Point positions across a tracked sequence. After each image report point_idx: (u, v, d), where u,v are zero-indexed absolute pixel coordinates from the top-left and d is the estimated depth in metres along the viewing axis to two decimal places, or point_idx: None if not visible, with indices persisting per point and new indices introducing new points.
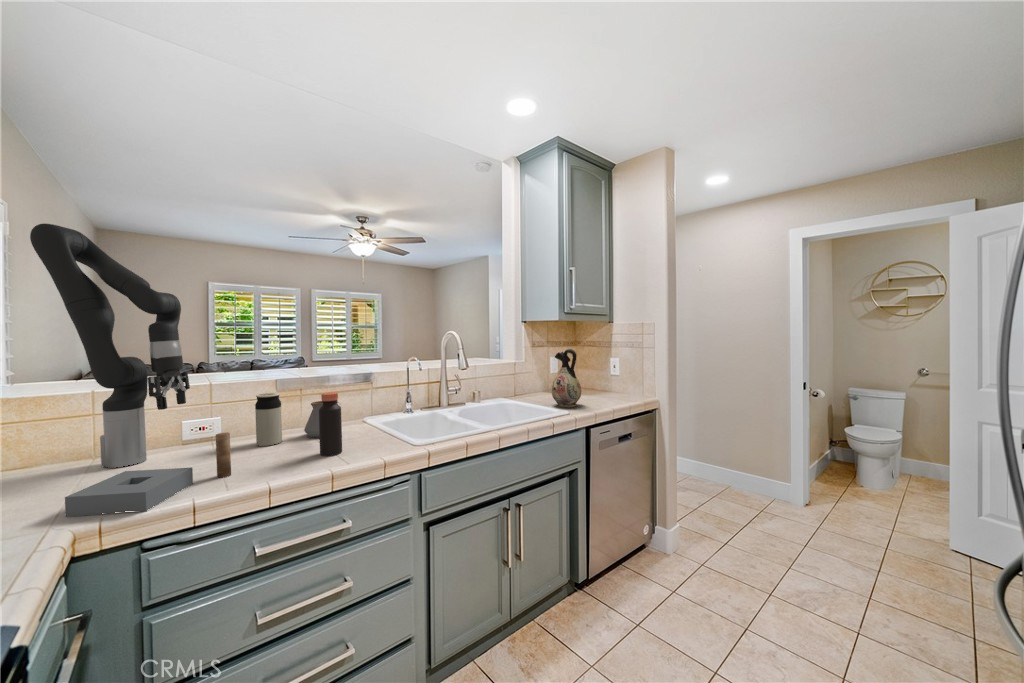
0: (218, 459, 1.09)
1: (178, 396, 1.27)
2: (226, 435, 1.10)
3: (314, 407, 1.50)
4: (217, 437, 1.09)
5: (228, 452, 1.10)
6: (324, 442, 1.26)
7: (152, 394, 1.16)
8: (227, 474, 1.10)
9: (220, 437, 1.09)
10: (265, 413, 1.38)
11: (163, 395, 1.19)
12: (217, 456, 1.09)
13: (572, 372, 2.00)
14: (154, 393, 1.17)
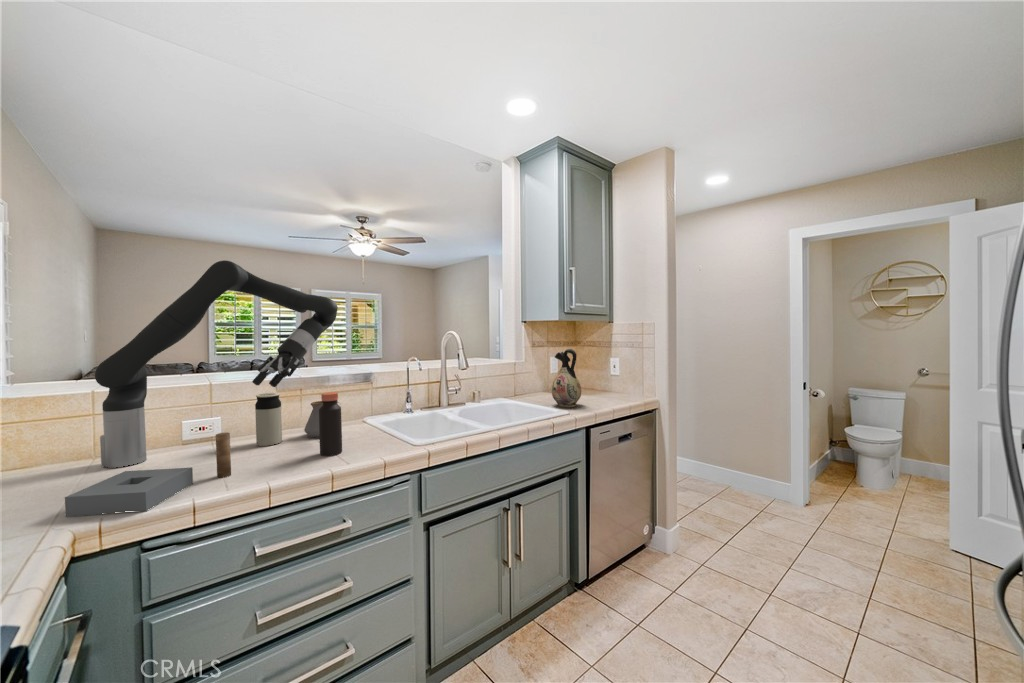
0: (218, 459, 1.09)
1: (260, 376, 1.23)
2: (226, 435, 1.10)
3: (314, 407, 1.50)
4: (217, 437, 1.09)
5: (228, 452, 1.10)
6: (324, 442, 1.26)
7: (287, 371, 1.20)
8: (227, 474, 1.10)
9: (220, 437, 1.09)
10: (265, 413, 1.38)
11: (285, 376, 1.21)
12: (217, 456, 1.09)
13: (572, 372, 2.00)
14: (289, 372, 1.20)
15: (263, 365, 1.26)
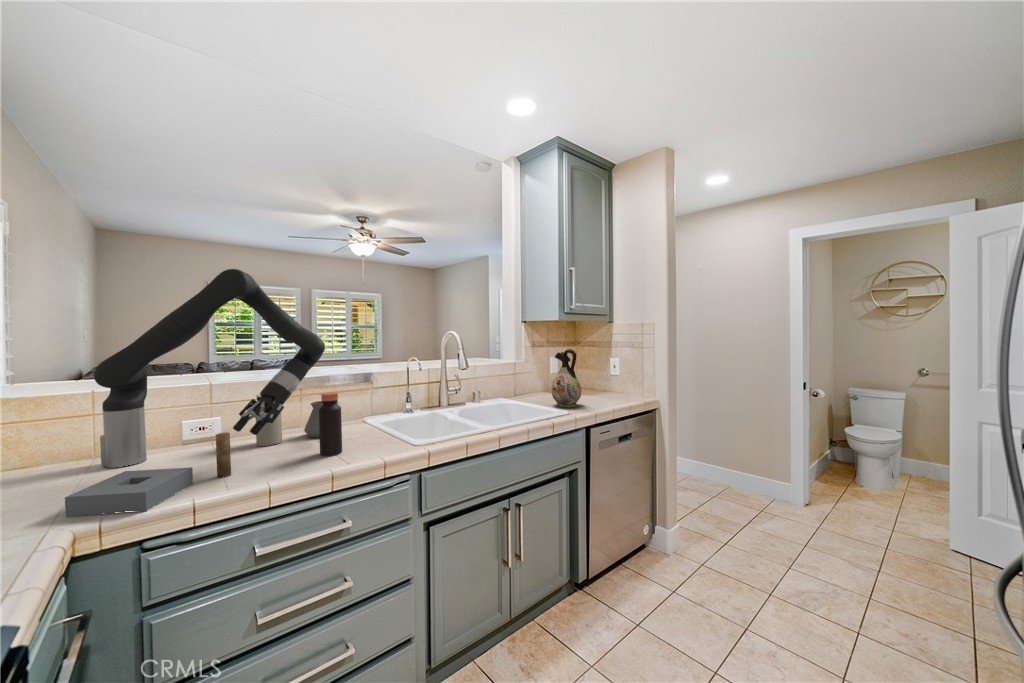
0: (218, 459, 1.09)
1: (241, 422, 1.18)
2: (226, 435, 1.10)
3: (314, 407, 1.50)
4: (217, 437, 1.09)
5: (228, 452, 1.10)
6: (324, 442, 1.26)
7: (269, 418, 1.15)
8: (227, 474, 1.10)
9: (220, 437, 1.09)
10: None
11: None
12: (217, 456, 1.09)
13: (572, 372, 2.00)
14: (271, 418, 1.16)
15: (245, 409, 1.21)
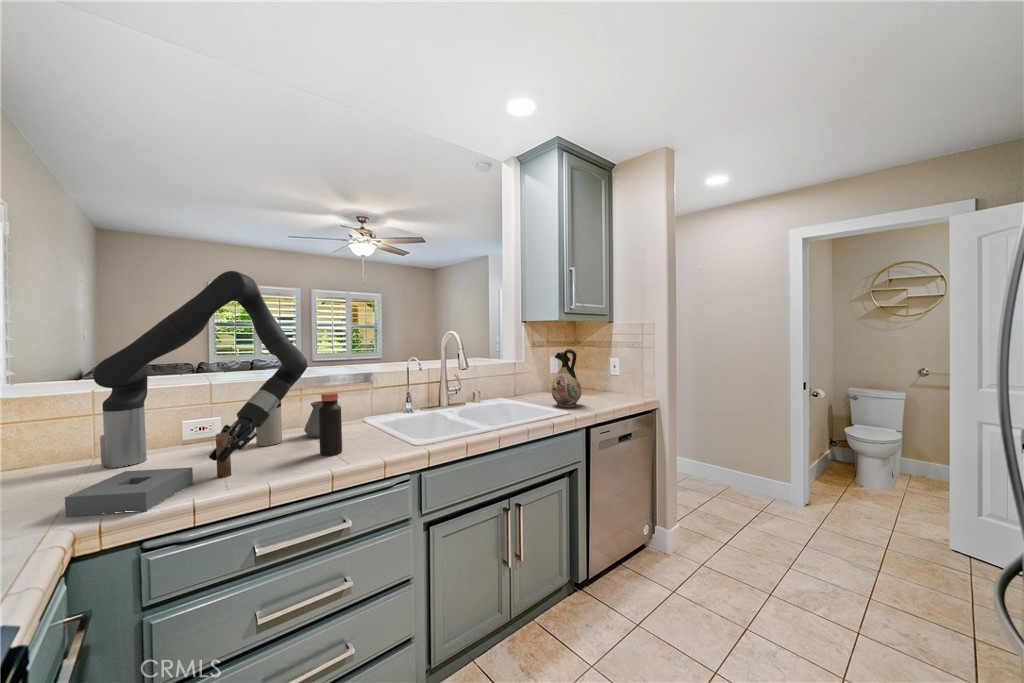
0: None
1: None
2: (226, 435, 1.10)
3: (314, 407, 1.50)
4: (217, 437, 1.09)
5: None
6: (324, 442, 1.26)
7: (236, 446, 1.09)
8: (227, 474, 1.10)
9: (220, 437, 1.09)
10: None
11: (235, 449, 1.11)
12: None
13: (572, 372, 2.00)
14: (238, 446, 1.10)
15: None
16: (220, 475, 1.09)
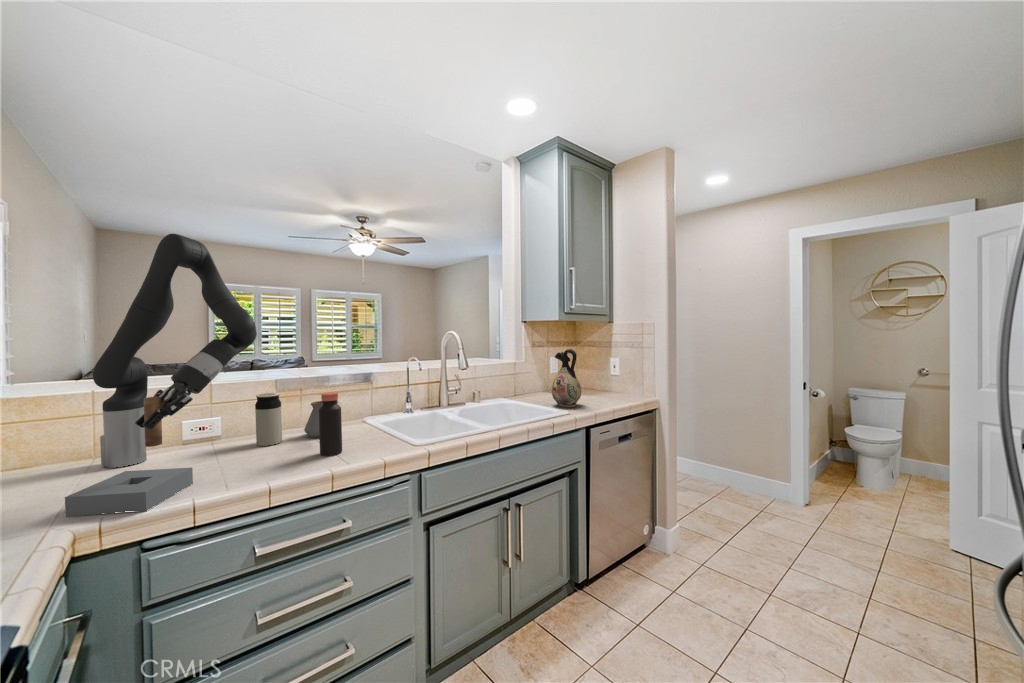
0: None
1: None
2: (156, 399, 0.98)
3: (314, 407, 1.50)
4: (145, 401, 0.97)
5: None
6: (324, 442, 1.26)
7: (167, 411, 0.97)
8: (157, 443, 0.98)
9: (148, 400, 0.97)
10: (265, 413, 1.38)
11: (166, 415, 0.99)
12: None
13: (572, 372, 2.00)
14: (170, 411, 0.98)
15: None
16: (148, 443, 0.97)
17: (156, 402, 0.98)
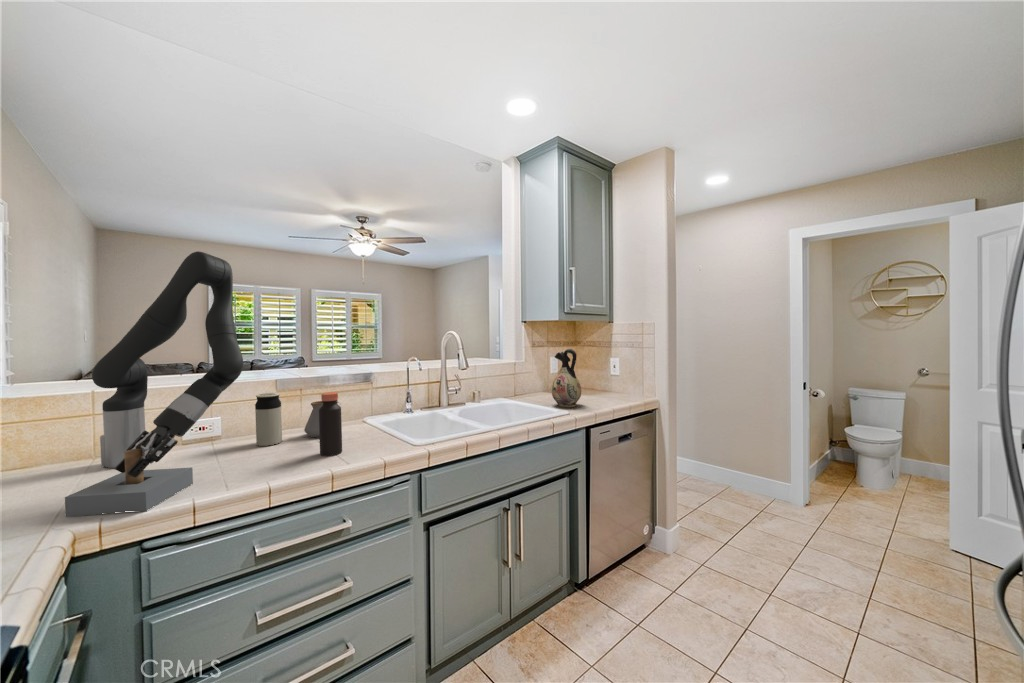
0: (127, 480, 0.94)
1: None
2: (137, 452, 0.95)
3: (314, 407, 1.50)
4: (125, 455, 0.94)
5: None
6: (324, 442, 1.26)
7: (153, 457, 0.94)
8: None
9: (129, 454, 0.94)
10: (265, 413, 1.38)
11: (152, 461, 0.96)
12: (126, 476, 0.94)
13: (572, 372, 2.00)
14: (156, 457, 0.95)
15: (134, 443, 1.00)
16: None
17: (137, 455, 0.95)
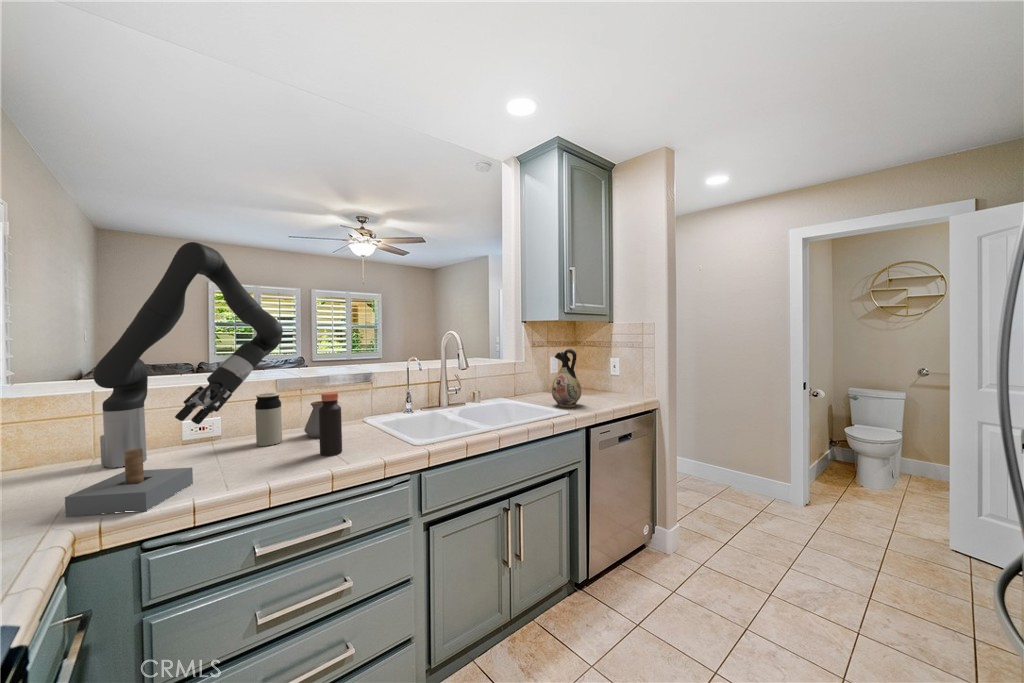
0: (127, 480, 0.94)
1: (185, 410, 1.08)
2: (137, 452, 0.95)
3: (314, 407, 1.50)
4: (126, 455, 0.94)
5: (140, 471, 0.96)
6: (324, 442, 1.26)
7: (214, 406, 1.05)
8: None
9: (129, 454, 0.94)
10: (265, 413, 1.38)
11: (212, 411, 1.06)
12: (126, 476, 0.94)
13: (572, 372, 2.00)
14: (216, 407, 1.05)
15: (190, 397, 1.11)
16: None
17: (137, 455, 0.95)
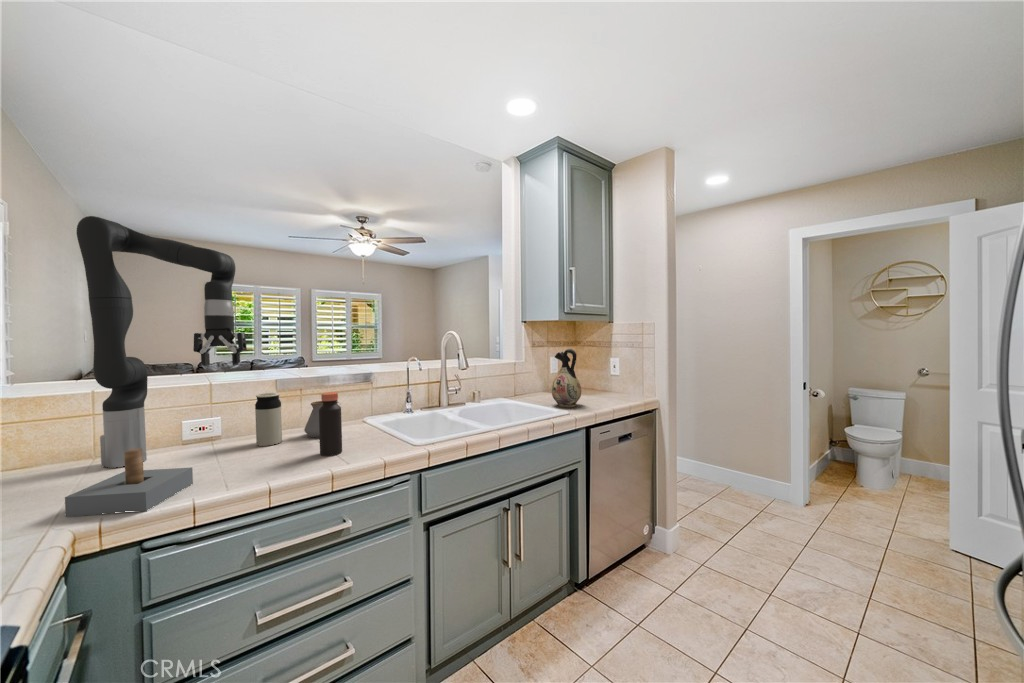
0: (127, 480, 0.94)
1: (206, 357, 1.24)
2: (137, 452, 0.95)
3: (314, 407, 1.50)
4: (126, 455, 0.94)
5: (140, 471, 0.96)
6: (324, 442, 1.26)
7: (243, 349, 1.26)
8: None
9: (129, 454, 0.94)
10: (265, 413, 1.38)
11: None
12: (126, 476, 0.94)
13: (572, 372, 2.00)
14: (244, 348, 1.26)
15: (197, 345, 1.23)
16: None
17: (137, 455, 0.95)
